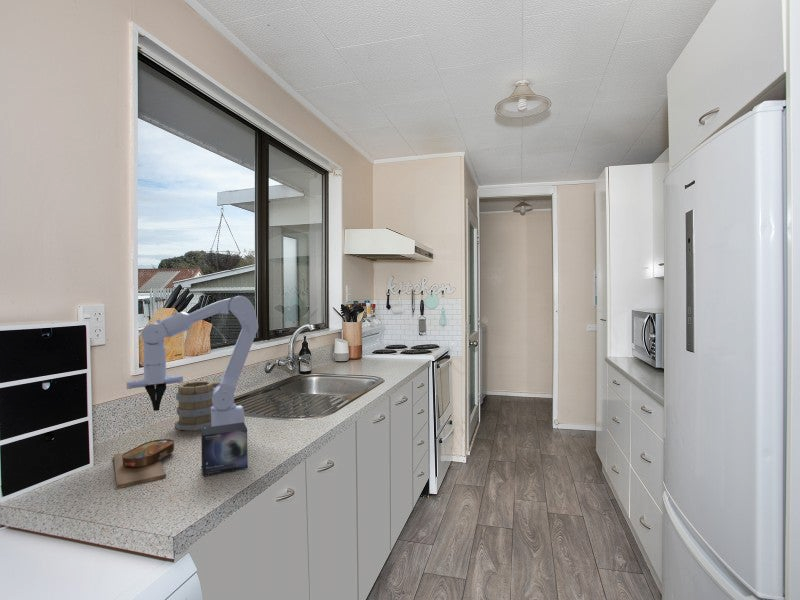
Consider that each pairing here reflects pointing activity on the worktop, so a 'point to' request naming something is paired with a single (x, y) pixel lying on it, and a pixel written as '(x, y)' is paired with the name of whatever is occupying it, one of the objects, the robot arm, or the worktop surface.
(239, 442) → the small box
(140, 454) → the tin
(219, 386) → the robot arm
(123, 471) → the chopping board
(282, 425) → the worktop surface
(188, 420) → the tankard
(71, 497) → the worktop surface
